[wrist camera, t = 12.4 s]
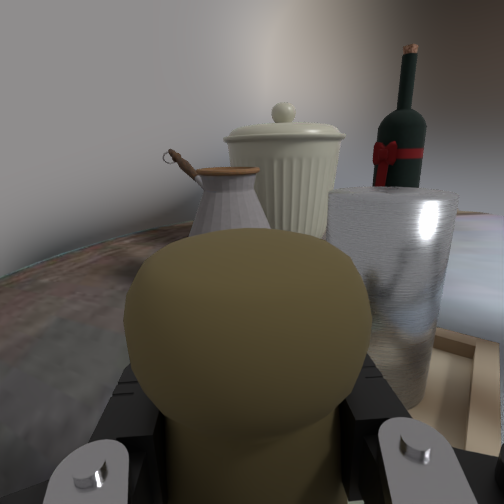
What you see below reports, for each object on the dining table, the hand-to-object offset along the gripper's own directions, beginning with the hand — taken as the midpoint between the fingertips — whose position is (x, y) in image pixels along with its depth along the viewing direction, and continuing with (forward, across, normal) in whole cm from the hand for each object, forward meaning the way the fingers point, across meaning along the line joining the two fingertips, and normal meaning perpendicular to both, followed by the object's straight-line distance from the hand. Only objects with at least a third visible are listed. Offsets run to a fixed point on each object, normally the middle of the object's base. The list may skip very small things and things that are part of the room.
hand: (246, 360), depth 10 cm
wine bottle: (+48, -29, +8) cm, 56 cm away
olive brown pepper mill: (-2, 0, +7) cm, 7 cm away
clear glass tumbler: (+7, -8, +7) cm, 13 cm away
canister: (+42, -8, +8) cm, 43 cm away
